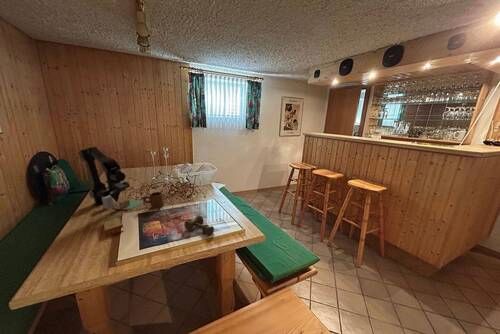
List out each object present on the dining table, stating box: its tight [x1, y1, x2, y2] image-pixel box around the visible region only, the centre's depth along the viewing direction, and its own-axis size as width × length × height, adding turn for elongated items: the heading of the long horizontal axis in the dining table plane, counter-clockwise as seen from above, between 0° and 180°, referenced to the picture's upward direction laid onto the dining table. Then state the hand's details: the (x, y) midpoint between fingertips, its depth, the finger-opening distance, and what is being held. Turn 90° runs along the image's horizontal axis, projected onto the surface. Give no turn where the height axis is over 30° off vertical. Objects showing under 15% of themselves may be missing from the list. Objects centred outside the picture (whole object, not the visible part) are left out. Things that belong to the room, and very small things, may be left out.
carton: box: [102, 213, 124, 237], centre depth 110 cm, size 8×16×4 cm, turn 40°
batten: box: [112, 206, 129, 211], centre depth 131 cm, size 12×1×1 cm, turn 74°
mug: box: [142, 191, 164, 209], centre depth 132 cm, size 12×8×9 cm, turn 123°
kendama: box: [184, 215, 215, 237], centre depth 108 cm, size 6×10×20 cm
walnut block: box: [113, 199, 130, 210], centre depth 132 cm, size 4×4×8 cm
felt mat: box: [124, 198, 145, 210], centre depth 138 cm, size 14×12×1 cm
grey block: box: [102, 195, 114, 210], centre depth 132 cm, size 4×4×8 cm
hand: (116, 201), depth 128 cm, fingers closed
